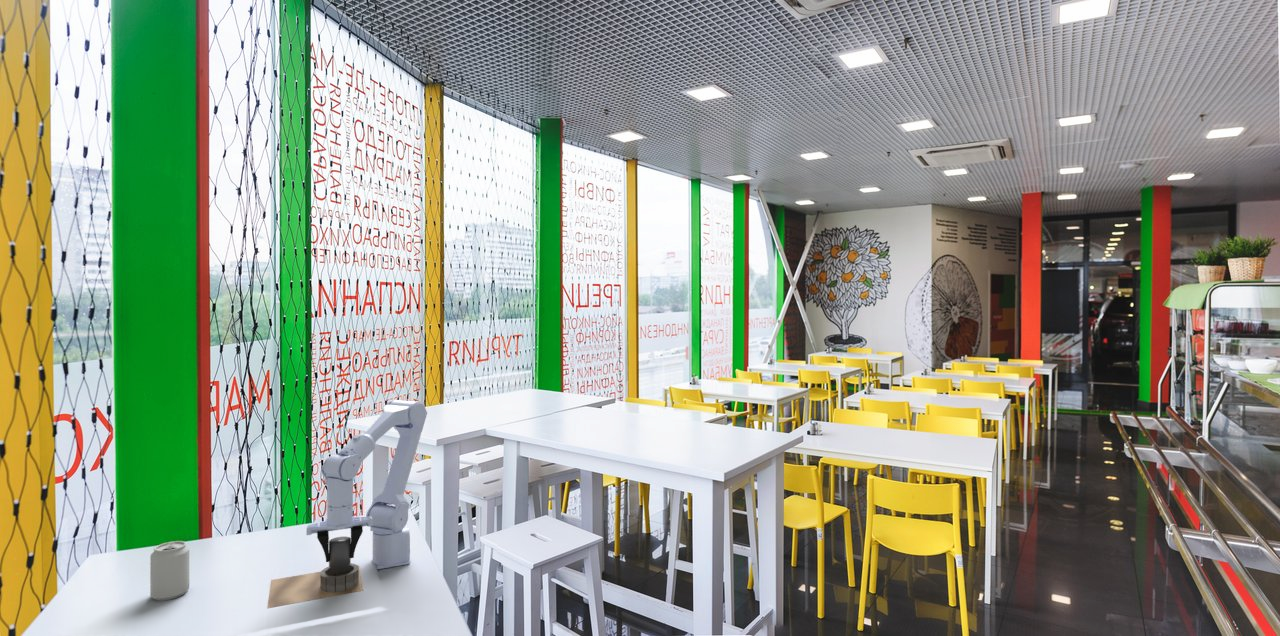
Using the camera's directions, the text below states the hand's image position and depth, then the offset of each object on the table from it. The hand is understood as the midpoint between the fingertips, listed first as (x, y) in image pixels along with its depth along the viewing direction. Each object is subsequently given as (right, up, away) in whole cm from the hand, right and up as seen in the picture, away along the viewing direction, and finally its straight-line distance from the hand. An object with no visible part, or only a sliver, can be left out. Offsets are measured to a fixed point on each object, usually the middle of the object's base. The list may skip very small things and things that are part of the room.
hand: (339, 558), depth 152 cm
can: (-38, -7, -4) cm, 39 cm away
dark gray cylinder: (0, -1, 0) cm, 1 cm away
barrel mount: (-5, -7, 0) cm, 9 cm away
